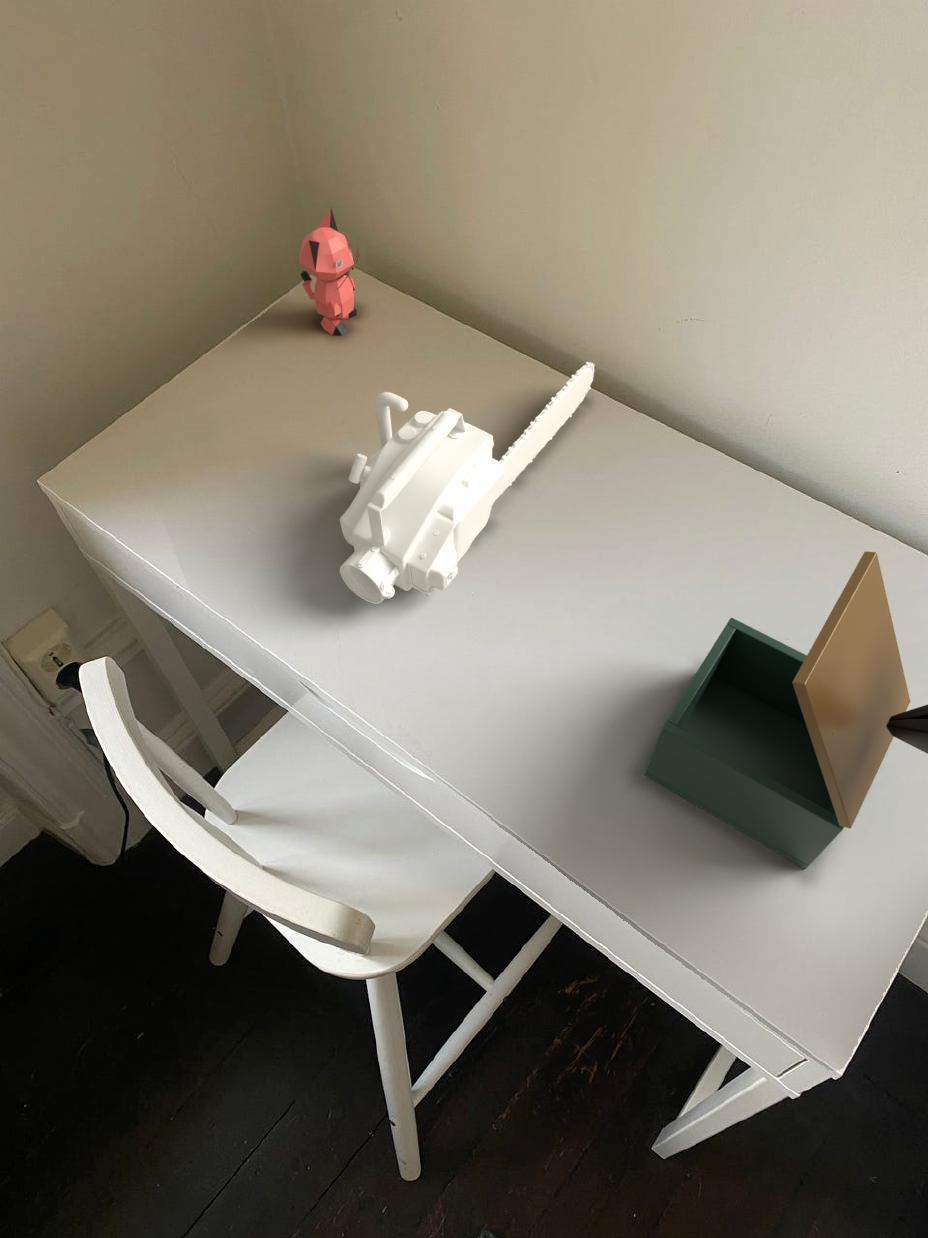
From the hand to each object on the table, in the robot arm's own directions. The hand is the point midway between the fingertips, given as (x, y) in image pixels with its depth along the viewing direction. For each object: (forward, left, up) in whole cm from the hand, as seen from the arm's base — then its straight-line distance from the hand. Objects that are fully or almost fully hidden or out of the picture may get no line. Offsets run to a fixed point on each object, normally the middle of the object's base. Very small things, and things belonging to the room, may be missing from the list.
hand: (890, 726), depth 60 cm
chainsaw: (+43, -12, -14) cm, 46 cm away
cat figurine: (+68, -24, -14) cm, 73 cm away
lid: (+3, 0, +1) cm, 3 cm away
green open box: (+6, 0, -13) cm, 15 cm away
